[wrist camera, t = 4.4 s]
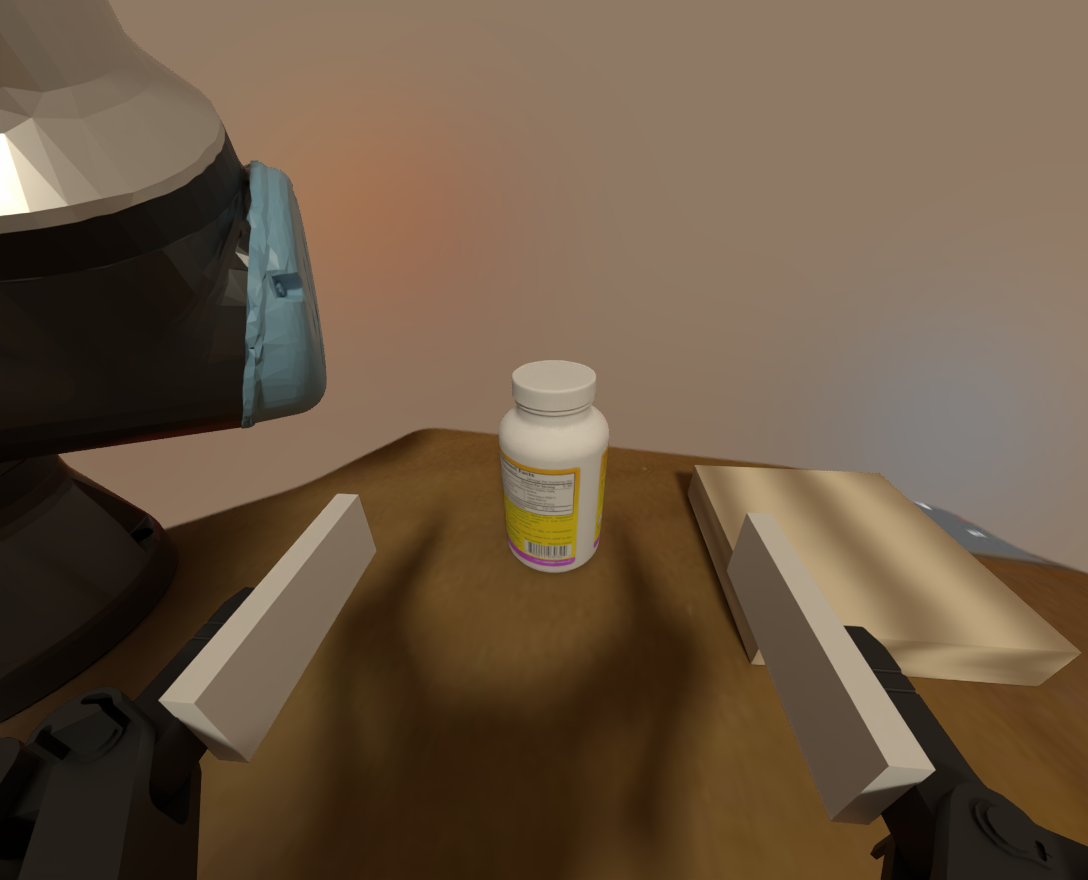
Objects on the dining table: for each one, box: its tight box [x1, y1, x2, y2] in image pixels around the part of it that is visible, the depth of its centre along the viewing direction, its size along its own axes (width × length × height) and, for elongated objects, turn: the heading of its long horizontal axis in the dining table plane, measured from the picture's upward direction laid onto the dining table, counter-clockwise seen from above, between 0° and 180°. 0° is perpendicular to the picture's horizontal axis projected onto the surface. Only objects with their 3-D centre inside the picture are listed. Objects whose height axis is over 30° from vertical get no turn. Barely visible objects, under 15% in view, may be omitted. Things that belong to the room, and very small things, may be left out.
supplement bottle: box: [499, 360, 609, 573], centre depth 24 cm, size 7×7×13 cm
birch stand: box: [687, 465, 1081, 686], centre depth 25 cm, size 14×14×3 cm
